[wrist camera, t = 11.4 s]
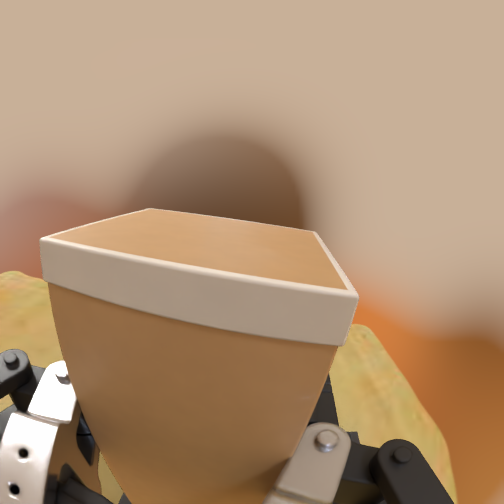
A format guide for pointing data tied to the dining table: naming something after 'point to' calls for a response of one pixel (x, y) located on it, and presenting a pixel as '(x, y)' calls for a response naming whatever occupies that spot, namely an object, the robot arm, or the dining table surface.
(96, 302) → the carton
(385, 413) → the dining table surface
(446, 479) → the dining table surface
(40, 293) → the dining table surface
